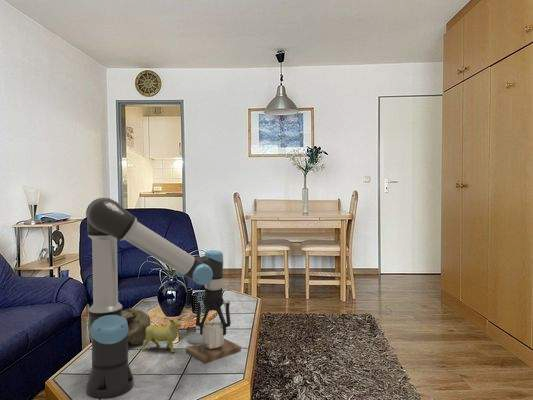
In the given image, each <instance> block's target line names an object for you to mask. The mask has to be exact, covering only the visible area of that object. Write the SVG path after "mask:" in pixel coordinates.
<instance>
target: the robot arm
mask: <svg viewBox="0 0 533 400" xmlns="http://www.w3.org/2000/svg"><path fill="white" fill-rule="evenodd" d="M85 216H86V221H87V222H86V224H87V226H86V227H87V228H86V229H87V231H86V232H87V237H88V238H90V240H91V243H92V244H91V246H92V247H91V249H92V250H91V251H92V253H91V255H92V299H93V301H92V303H93V304H92V305H90V306H89V308H88V323H87V330H88V333H89V338H90V341H91V369H90V370H91V371H90V373H89V376H88V379H87V382H86V393H87V395H88V396H90V397H92V398H97V399H107V398H108V399H109V398H114V397H117V396H121V395H123V394H125V393H127V392H129V391H130V390H131V389H132V388H133V387H134V374H133V372H132V370H131V367H130V364H129V341H128V323H127V320H126V319H125V318H124V317H122V312H123V305H122V304H121V303H120V302H119V289H118V288H119V287H118V285H119V284H118V283H119V282H118V275H119V274H118V273H119V272H118V241H121V242H122V241H125V242H128V243H130V244H131V245H133V246H134V247H136V248H138V250H141V251H143V252H145V253H146V254H148V255H149V256H151V257H153V258H155V259H157V260H158V261H159V262H162V263H163V264H164V265H167V266H168V267H170V268H171V269H173V270H174V271H175V274H176V276H177V277H179V278H185V277H186V278H187V279H189V280H191V281H193V282H194V283H195V284H197V285H200V286H204V294H203V295H204V296H203V297H204V299H203V300H198V301H197V302H196V306H197V311H196V319H195V326H196V327H199V334H200V335H202V343H204V326H205V323H206V320H207V317H208V315H209V312H211V311H214V312H216V313H217V315H218V317H219V322H221V323H222V327H221V344H223V342H224V339H225V336H226V335H227V328H228V327H231V313H230V305H231V302H230V301H224V297H223V296H224V295H223V293H224V292H223V291H224V288H223V287H224V286H223V285H224V284H223V283H224V276H223V274H224V254H223V252H222V251H221V250H216V249H215V250H213V249H212V250H206V251H205V252H204V255H203V256H193V255H191V254H190V253H188V252H187V251H185V250H183V249H182V248H180V247H178V246H177V245H176V244H174V243H172V242H170V241H169V240H167V239H166V238H164V237H162V235H160V234H158V233H156V232H155V231H153V230H152V229H150V228H148V227H147V226H145V225H144V224H142V223H141V222H139V221H138V219H137V216H135V215H133V214H132V213H131V212H129V211H128V210H126V209H125V208H124V207H123V206H122V205H121V204H120V203H119V202H118V201H115V200H114V199H112V198H109V197H99V198H95V199H94V200H93V201H91V202H90V203H89V204H88V206H87V208H86V210H85ZM203 305H204V306H205V311H204V314H203V317H202V320H201V316H202V315H201V313H202V307H203ZM222 306H224V308H225V316H226V317H224V314H223V310H222V308H221V307H222ZM225 318H226V319H225ZM200 321H201V322H200Z"/></svg>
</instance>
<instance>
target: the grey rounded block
mask: <svg viewBox="0 0 533 400" xmlns="http://www.w3.org/2000/svg"><path fill="white" fill-rule="evenodd" d="M221 327H222V323H221V321H220V320H208V321H205V323H204V343H205V344H207V348H210V349H212V348H217V347H220V346H221V345H222V344H221Z"/></svg>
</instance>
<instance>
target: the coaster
mask: <svg viewBox="0 0 533 400" xmlns="http://www.w3.org/2000/svg"><path fill="white" fill-rule="evenodd" d="M186 342H187V343H188V344H190V345H197V344H200V343H202V335H200V333H194V334H191V335H189V336H188V337H187V338H186Z"/></svg>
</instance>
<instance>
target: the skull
mask: <svg viewBox="0 0 533 400" xmlns="http://www.w3.org/2000/svg"><path fill="white" fill-rule="evenodd" d="M149 315H150V314H147V313H146V312H145V311H144V310H143V311H142V310H139V309H137V308H135V307H134V308H133V307H130V308H128V309H126V310H122V317H124V318H125V319H126V320H127V323H128V343H129V345H130V346H131V345H132V346H133V345H138V344H140V343H141V342H142V341H144V340H145V339H146V331H145V330H146V328H147V327H148V326H151V317H150V316H149Z"/></svg>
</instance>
